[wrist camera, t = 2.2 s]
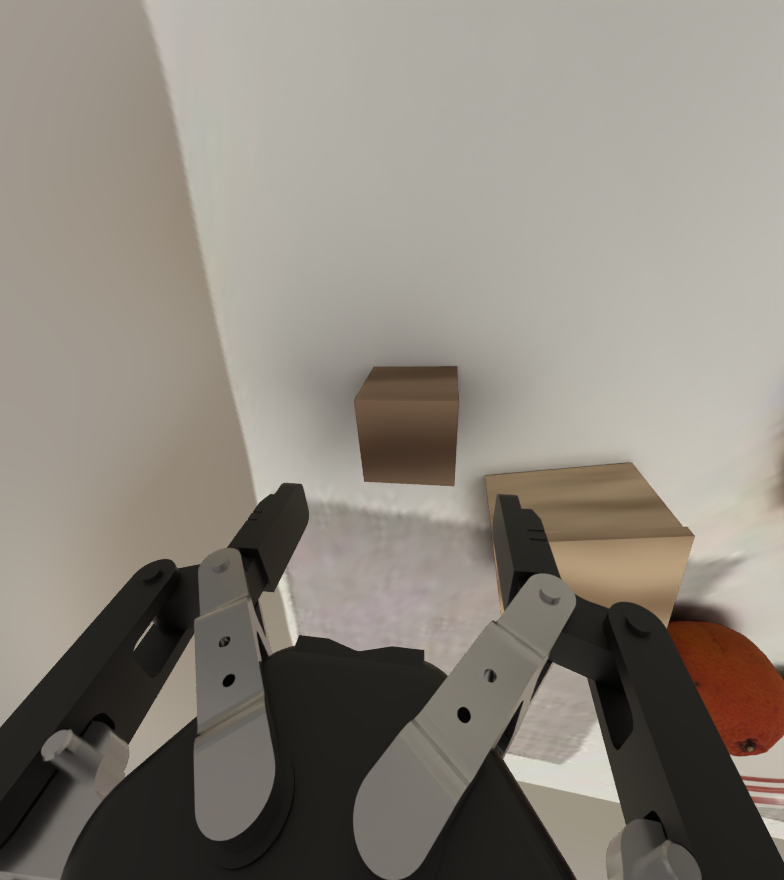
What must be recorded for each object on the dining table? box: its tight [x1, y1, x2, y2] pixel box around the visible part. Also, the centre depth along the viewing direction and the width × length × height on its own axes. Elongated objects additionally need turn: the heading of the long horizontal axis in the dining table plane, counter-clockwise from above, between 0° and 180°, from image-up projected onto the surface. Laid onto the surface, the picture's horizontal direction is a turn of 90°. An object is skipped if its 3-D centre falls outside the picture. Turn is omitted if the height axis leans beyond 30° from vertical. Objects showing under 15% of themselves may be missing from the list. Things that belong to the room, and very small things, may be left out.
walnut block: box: [354, 366, 459, 486], centre depth 19 cm, size 5×5×5 cm
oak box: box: [485, 463, 695, 629], centre depth 22 cm, size 9×9×6 cm
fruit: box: [667, 621, 784, 757], centre depth 25 cm, size 9×9×8 cm
